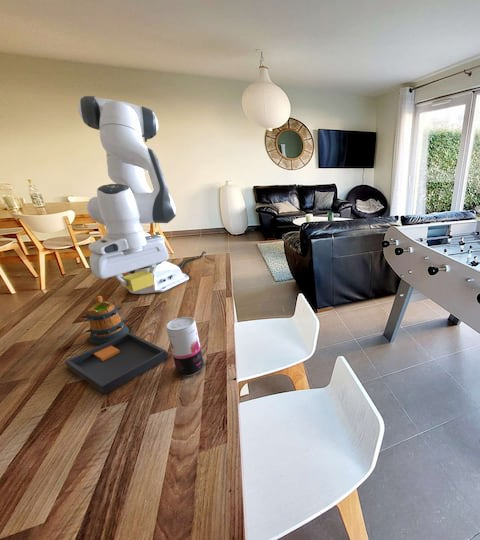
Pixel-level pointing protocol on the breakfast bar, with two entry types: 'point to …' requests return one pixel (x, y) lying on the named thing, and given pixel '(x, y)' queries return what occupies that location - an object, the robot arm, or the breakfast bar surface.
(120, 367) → the dark grey tray
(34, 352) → the breakfast bar surface
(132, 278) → the sponge
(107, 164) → the robot arm
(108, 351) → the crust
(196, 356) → the beverage can
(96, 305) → the brown wooden barrel
